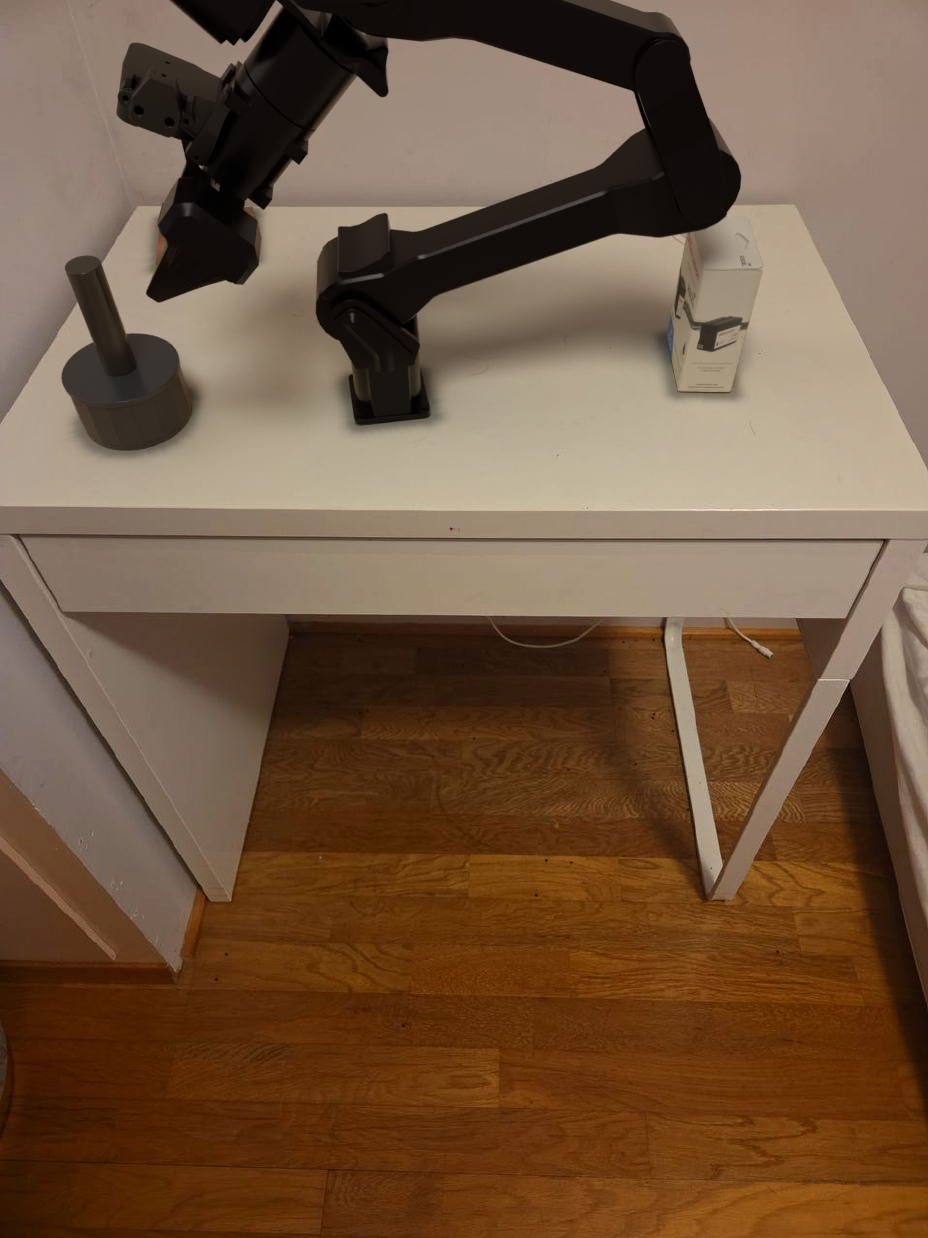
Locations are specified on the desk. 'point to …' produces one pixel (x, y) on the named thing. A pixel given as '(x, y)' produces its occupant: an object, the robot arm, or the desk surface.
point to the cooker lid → (113, 348)
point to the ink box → (713, 304)
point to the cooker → (139, 419)
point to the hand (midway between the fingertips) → (160, 263)
